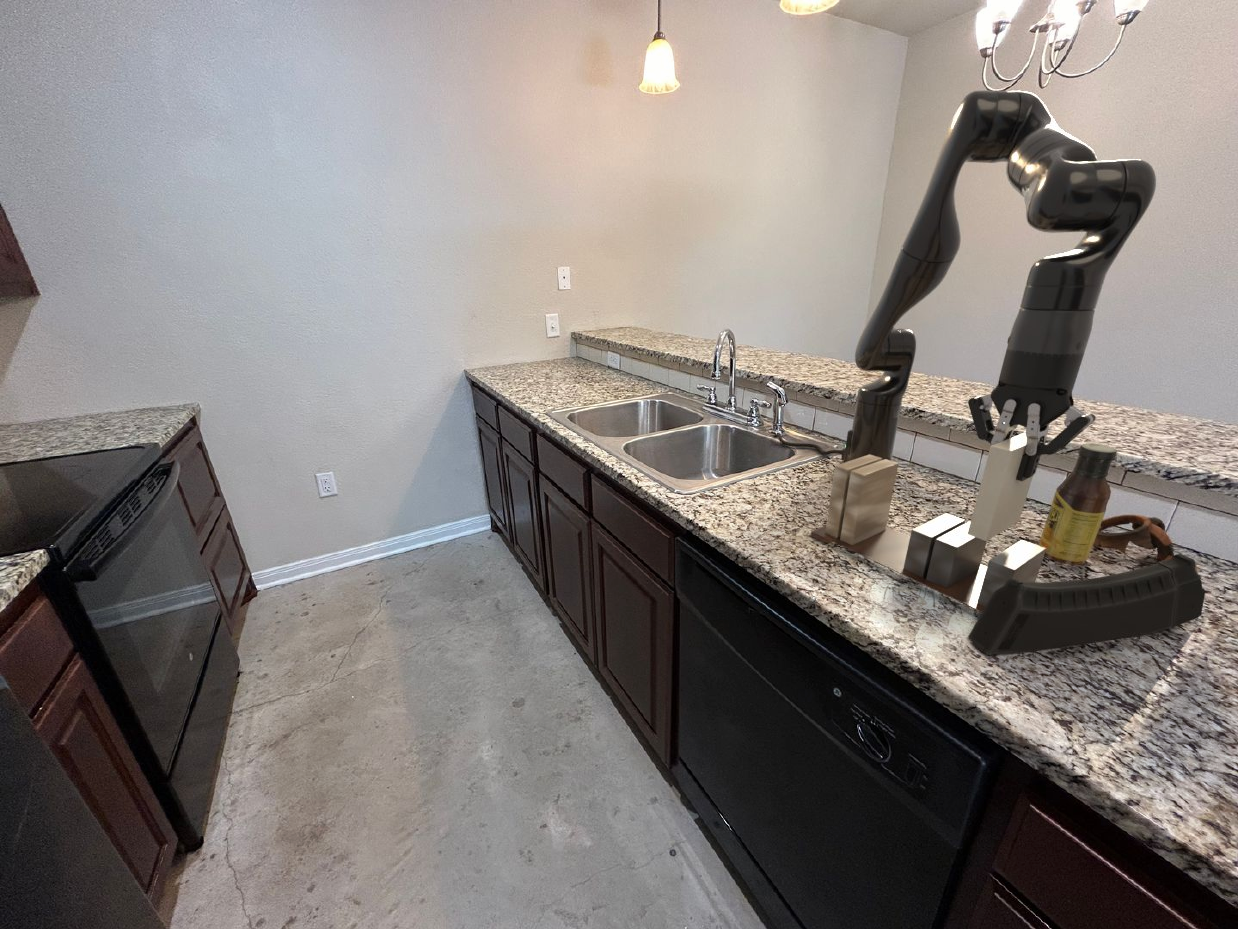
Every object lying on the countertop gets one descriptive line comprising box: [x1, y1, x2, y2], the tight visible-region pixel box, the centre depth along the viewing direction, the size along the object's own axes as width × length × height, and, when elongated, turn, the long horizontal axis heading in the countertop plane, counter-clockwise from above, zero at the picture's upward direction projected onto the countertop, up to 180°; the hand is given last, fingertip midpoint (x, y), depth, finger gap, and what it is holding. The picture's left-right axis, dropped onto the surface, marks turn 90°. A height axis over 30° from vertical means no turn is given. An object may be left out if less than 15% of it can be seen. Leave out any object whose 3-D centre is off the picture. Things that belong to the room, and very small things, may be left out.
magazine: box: [967, 553, 1206, 656], centre depth 62 cm, size 17×3×30 cm
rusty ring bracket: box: [1092, 514, 1175, 561], centre depth 82 cm, size 12×10×8 cm
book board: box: [810, 455, 1046, 613], centre depth 79 cm, size 31×13×14 cm, turn 32°
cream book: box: [967, 432, 1034, 542], centre depth 68 cm, size 2×10×13 cm, turn 123°
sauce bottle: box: [1038, 442, 1118, 566], centre depth 78 cm, size 6×6×20 cm
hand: (1008, 475), depth 68 cm, fingers closed on cream book, 2 cm apart
